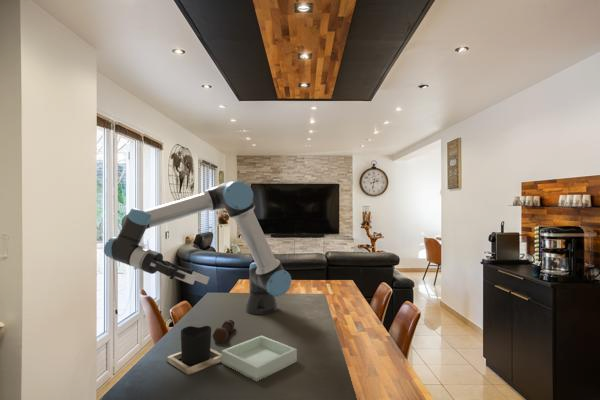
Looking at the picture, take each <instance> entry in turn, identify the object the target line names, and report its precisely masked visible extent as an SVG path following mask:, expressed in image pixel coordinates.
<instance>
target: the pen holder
mask: <svg viewBox="0 0 600 400" xmlns="http://www.w3.org/2000/svg"><path fill="white" fill-rule="evenodd" d="M211 342H212V327H211V326H210V325H203V326H198V327H197V326H193V325H189V326H186V327H184V328H182V329H181V330H180V347H181V349H180V350H181V351H180V352H181V354H182V358H181V362H182V363H184V364H186V365H187V366H189V367H192V366H194V365H197V364H199V363H202V362H204V361H207V360H209V359H211V356H210V348H211V345H212V344H211Z"/></svg>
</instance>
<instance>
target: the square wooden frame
mask: <svg viewBox="0 0 600 400" xmlns="http://www.w3.org/2000/svg"><path fill="white" fill-rule="evenodd" d="M221 354H222V352H221V353H220V352H219V351H217V350H215V349H212V348H211V347H210V357H212V358H210V359H209V360H207V361H204V362H202V363H199V364H197V365H194V366H192V367H189V366H187V365H186V364H184V363H182V360H180V359H182V354H181V351H179V352H176V353H173V354H171V355H169V356H166V362H167V363H169V364H170V365H172V366H174V367H175V368H177V369H178V370H180V371H182V372H183V373H184V374H186V375H188V376H189V375H192V374H195V373H197V372H200V371H201V370H203V369H206V368H208V367H211V366H215V365H216V364H218V363H221Z"/></svg>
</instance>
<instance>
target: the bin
mask: <svg viewBox="0 0 600 400" xmlns="http://www.w3.org/2000/svg"><path fill="white" fill-rule="evenodd" d="M297 352H298V349H297V348H295V347H293V346H290V345H287V344H285V343H282V342H280V341H277V340H274V339H272V338H270V337H266V336H264V335H259V336H255V337H254V338H250V339H248V340H245V341H243V342H240V343H238V344H234V345H233V346H231V347H227V348H225V349H222V350H221V362H220V363H221V365H225V366H226V367H228V368H230V369H231V368H232V370H233V369H234V370H233V371H235V370H236V372H237V371H238V373H239V372H240V374H241V375H242V376H244V377H247V378H248V379H250V378H251V380H252V381H255V382H259V380H260V381H261V379H262V380H264V379H266V378H267V377H269V376H271V375H273V374H275V373H277V372H279V371H281V370H283V369H285V368H287V367H289V366H290V365H292V364H295V363H296V362H297V361H298V359H297V357H298V353H297ZM263 378H264V379H263Z"/></svg>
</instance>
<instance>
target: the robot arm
mask: <svg viewBox="0 0 600 400" xmlns="http://www.w3.org/2000/svg"><path fill="white" fill-rule="evenodd" d="M255 208H256V205H255V202H254V192H253V189H252V187H251V186H250V185H249V184H248V183H247V182H244V181H241V180H231V181H227V182H226V181H225V182H223V183H220V184H218V185H216V186H214V187H213V186H212V187H211V188H208V189H205V190H204V191H203V192H202V193H199V194H196V195H192V196H189V197H186V198H185V197H184V198H181V199H179V200H175V201H171V202H168V203H164V204H160V205H157V206H153V207H151V208H150V207H149V208H148V209H144V210H141V209H138V208H136V207H133V208H131V209H130V211H129V212H128V213H127V214H126V215H125V216H123V218H122V219H121V230H120V231H119V233H118V235H117V236H112V237H110V238H109V239H108V241H106V242H105V245H104V248H103V254H104V255H105V256H106V257H107V258H110V259H112V260H114V261H116V262H119V263H122V264H123V265H124V264H125V265H127V266H130V267H132V268H133V269H134V270H138V269H139V270H140V271H143V272H145V273H148V274H150V275H151V274H156V273H157V272H158V273H161V274H162V275H165V276H166V277H169V279H170V280H174V279H177V280H179V281H182V282H184V283H187V284H189V285H194V283H195V282H199V283H201V284H204V285H208V283H209V280H210V276H207V275H205V274H202V273H199V272H196V270H195V269H194V268H192V269H189V268H187V267H182V266H179V265H177V264H175V263H173V262H170V261H168V260H164V256H163V253H160V252H158V251H156V250H152V249H150V248H148V247H145V246H142V245H140V243H141V241H142V239H143V237H144V235H145V232H146V230H147V229H151V228H153V227H156V226H157V227H158V226H160V225H163V224H166V223H170V222H173V221H175V220H180V219H182V218H186V217H189V216H193V215H195V214H198V213H201V212H205V211H211V212H213V211H216V210H222V209H223V210H224V209H225V211H226V213H227V215H228V217H229V218H230V219H233V220H235V221H234V222H235V223H236V224H237V227H238V229H239V231H240V233H241V236H242V238H243V240H244V242H245V244H246V247H247V248H248V251H249V253H250V255H251V257H252V259H253V262H251V263H250V264H249V269H248V270H249V277H248V278H249V280H248V281H249V294H248V296H247V300H246V304H245V312H247V313H248V314H252V315H268V314H269V315H270V314H273V313H275V312H277V310H278V303H277V299H276V297H281V296H284V295H286V294H287V293H288V291H289V290H290V288H291V285H292V276H291V274H290V272H288V271H287V270H285V269H284V267H283V265H282V262H281V261H280V260H279V259H277V258H276V257H275V256H274V253H273V252H272V249H271V247H270V244H269V243H268V240H267V238H266V236H265V233H264V231H263V229H262V227H261V225H260V223H259V220H258V218H257V216H256V214H255V212H254V210H255Z"/></svg>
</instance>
